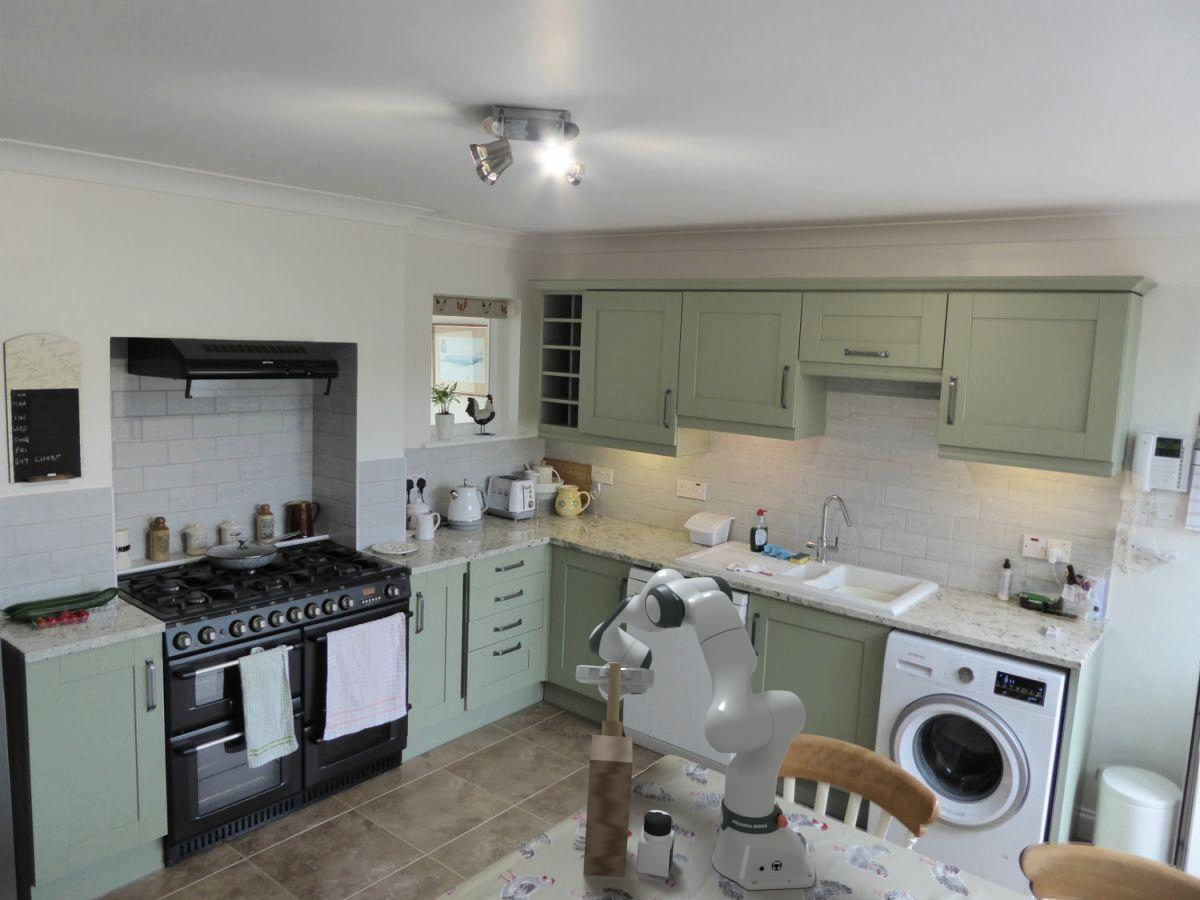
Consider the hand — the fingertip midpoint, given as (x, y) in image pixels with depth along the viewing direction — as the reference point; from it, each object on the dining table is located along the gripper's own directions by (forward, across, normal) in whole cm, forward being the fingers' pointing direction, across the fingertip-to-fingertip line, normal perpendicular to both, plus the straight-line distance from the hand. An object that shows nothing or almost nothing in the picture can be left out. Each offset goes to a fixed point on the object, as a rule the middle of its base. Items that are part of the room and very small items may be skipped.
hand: (615, 671), depth 218 cm
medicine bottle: (+10, +11, +43) cm, 46 cm away
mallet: (-4, 0, +8) cm, 9 cm away
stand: (+9, 0, +43) cm, 44 cm away
